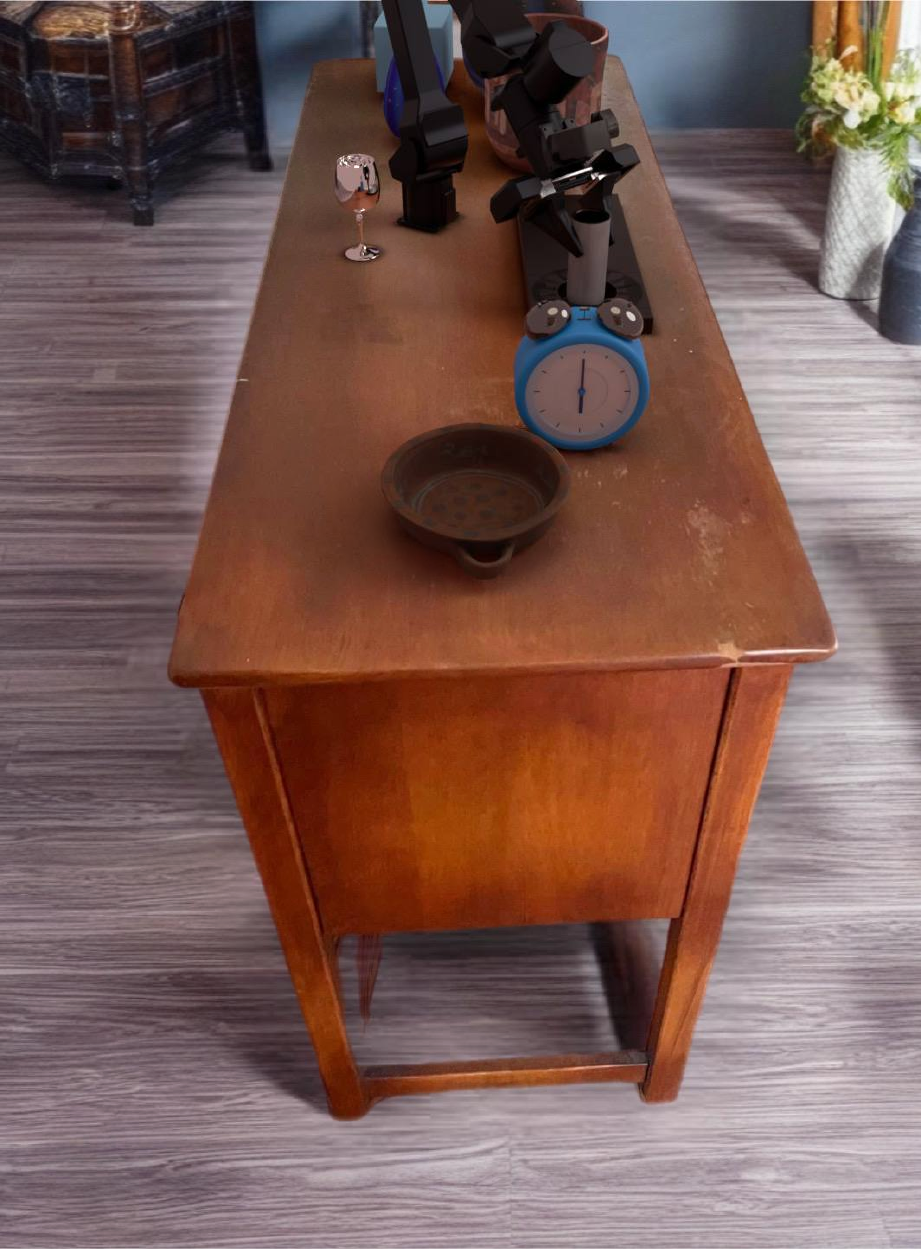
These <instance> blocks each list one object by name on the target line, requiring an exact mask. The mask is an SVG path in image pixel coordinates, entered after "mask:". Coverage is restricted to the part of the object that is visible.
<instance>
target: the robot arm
mask: <svg viewBox="0 0 921 1249" xmlns="http://www.w3.org/2000/svg"><path fill="white" fill-rule="evenodd" d="M380 2H381V7H382V11H384V16H385V20H386V24H387V28H388V33H389V37H390V41H391V45H392V50H393V54H394V58H395V62H396V67H397V71H398V75H399V79H400V83H401V88H402V92H403V96H404V102H405V103H404V107H403V111H402V115H401V119H400V123H399V127H398V128H399V135H400V139H399V143H400V145H399V146H398V147H397V149H396V150H395V151H394V153H393V154H392V155H391V157H390V158H389V159H388V162H387V163H388V167H389V173H390V176H391V178H392V179H393V180H395V181H398V182H399V183H401V198H402V199H401V200H402V215H400V216H398V217H397V219H396V224H399V225H403V226H408V227H411V228H414V229H418V230H423V231H427V232H431V233H437V232H439V231H441V230H442V229H444V228H445V227H447V226H448V225H449V224H451V223H452V222H454V221H455V220H456V219H458V218H460V215H461V214H460V211H457V189H456V188H455V187H454V175H455V174H460V173H462V172H463V169H464V166H465V161H466V158H467V153H468V151H469V137H470V133H469V131H468V129H467V125H466V122H465V114H464V109H463V107H462V105H461V103H459V102H457V103H453V102H452V101H450V99H449V98H448V96H445V95H444V93H443V92H442V88H441V84H440V79H439V75H438V70H437V66H436V62H435V57H434V53H433V48H432V44H431V39H430V35H429V30H428V26H427V21H426V17H425V12H424V8H423V3H422V0H380ZM447 2H448V3H449V4H448V5H451V7H452V10H453V12H454V13H455V15H456V18H457V20H458V22H459V24H460V37H459V39H460V41H459V42H460V46H461V48H462V47H463V50H464V52H465V54H466V56H467V58H468V60H469V63H470V65H471V67H472V69H473V70H474V72H475V73H476V74H477V75H478V76H479V77H480V78H485V79H493V78H496V77H500V76H504V75H508V74H511V73H515V72H519V71H522V73H517V74H515V75H513V76H511V77H510V78H509V79H508V81H507V82H506V83H505V84H501V85H497V86H495V87H494V94H493V98H492V100H491V104H490V110H491V111H492V112H495V111H499V110H504V112H505V114H506V116H507V119H508V121H509V123H510V125H511V127H512V129H513V132H514V134H515V136H516V138H517V140H518V143H519V145H520V146H519V147H518V148H517V149H516V151H515V153H516V155H517V157H518V159H521V158H524V157H525V158H526V160H527V162H528V164H529V166H530V168H531V171H532V173H525V174H523V175H520V176H516V177H513V178H510V179H508V180H507V181H505V182H504V184H503V185H502V186H501V187H500V188H499V189H498V190H497V191H496V192H495V193H494V194H493V195H492V196H491V197H490V200H489V211H490V214H491V215H492V218H493V220H494V222H495V224H497V225H499V224H503V223H505V222H508V221H511V220H514V219H517V215H518V212H519V206H520V205H524V207H525V210H526V212H527V213H526V214H525V215H524V216H523V217H522V221H523V222H524V223H525V222H530V223H532V224H533V225H535V226H536V227H538V228H539V229H541V230H542V231H543V232H545V233H546V234H548V235H549V236H550V237H552V238H553V239H554V240H556V241H557V242H558V243H559V244H560V245H562V246H563V247H564V248H565V249H566V250H568V251H569V252H570V253H571V254H573V255H574V256H575V257H576V258H580V257H581V256H582V255H583V254H584V252H583V249H582V246H581V243H580V240H579V238H578V236H577V233H576V231H575V229H574V227H573V225H572V222H571V220H570V218H569V216H568V213H567V211H566V208H565V195H566V191H569V190H571V189H574V188H577V187H579V188H580V191H581V194H583V196H582V197H581V198H580V199H579V200H578V203H579V204H580V206H581V207H582V208H599V209H602V210H605V211H607V212H608V213H609V214H610V216H611V220H610V233H609V245H608V247H610V246H612V245H613V244H614V243H615V233H614V223H613V213H612V194H613V191H614V188H615V185H616V184H618V183H619V182H620V181H621V180H623V178H624V177H626V176H627V175H628V174H629V173H630V172H631V171H633V170H634V169H635V168H636V167H637V166H638V165H639V164H640V163H642V161H641V159H640V157H639V155H638V153H637V150H636V148H635V147H634V146H633V145H631V144H629V143H627V142H624V143H621V144H618V145H615V146H613V143H612V139H616V138H619V135H620V133H621V132H620V127H619V121H618V119H617V117H616V115H615V114H614V112H613V110H612V108H606V109H603V110H601V111H599V112H595V113H592V114H591V118H590V123H589V124H586V125H582V126H579V127H578V126H577V125H576V122H575V120H574V119H573V118H571V116H570V117H566V118H563V116H562V114H561V112H560V110H559V108H558V106H557V104H559V103H562V102H563V101H565V100H566V98H567V97H568V96H569V95H570V94H571V93H572V92H573V91H574V90H575V89H576V88H577V87H578V86H579V84H580V83H581V82H582V81H583V80H584V79H585V78H586V77H587V76H588V75H589V74H590V73H591V71H592V70H593V68H594V66H595V60H596V57H595V52H594V49H593V46H592V44H591V42H590V41H587V39H586V38H585V37H584V36H583V35H582V34H581V33H579V32H578V31H576V30H574V29H571V28H567V25H566V23H565V21H564V19H558V20H554V21H550V22H548V23H547V25H546V26H545V27H544V29H543V31H542V33H541V32H539V31H538V30H536V29H534V28H533V26H532V24H531V23H530V21H529V20H528V19H527V18H526V17H525V15H524V14H523V13H522V12H521V11H520V9H519V8H518V7H517V6H516V5H515V4H514V3H512V2H510V1H509V0H447ZM599 151H601V152H600V153H599V154H598V155H597V156H596V157H595V153H596V152H599ZM594 157H595V158H594ZM592 158H594V159H593V160H592V161H591V162H590V163H589V164H587V165H586V164H585V163H586V162H588V161H590V160H591V159H592Z"/></svg>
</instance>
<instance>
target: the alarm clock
mask: <svg viewBox="0 0 921 1249" xmlns="http://www.w3.org/2000/svg"><path fill="white" fill-rule="evenodd" d="M563 300H564V299H563ZM563 300H560V299H555V298H550V299H545V300H542V301H540V302H538V303H537V304H535V305H534V306H533V307H532V308H531V309H530V310H529V311H528V310H527V311H528V312H527V313H526V315H525V317H524V321H523V331H524V333H525V335H524V336H523V337H522V339H521V340H520V342H519V344H518V346H517V349H516V352H515V355H514V361H513V387H514V389H513V390H514V391H513V392H514V403H515V408H516V411H517V414H518V416H519V418H520V420H521V422H522V423H523V424H524V426H525V428H526V429H528V432H529V433H532V434H534V435H536V436H538V437H540V438H542V439H543V440H545V441H546V442H547V443H549V444H550V445H552V446H553V447H554V448H559V449H564V450H570V451H588V450H594V449H598V448H602V447H605V446H607V445H608V447H609V448H610V449H611V450H613V449H614V445H613V443H614V442H616V441H618V440H620V439H621V438H623V437H624V436H625V435H626V434H628V433H629V432H630V431H631V430H632V429H633V428H634V427H635V426H636V425H637V424H638V422H639V421H640V419H641V418H642V416H643V415H644V412H645V411H646V408H647V405H648V402H649V398H650V391H651V390H650V389H651V384H650V378H649V372H648V366H647V362H646V356H645V351H644V347H643V345H642V341H641V340H640V336H641V333H642V331H643V318H642V315H641V313H640V312H639V310H638V309H637V308H636V307H635V306H634V305H633V304H632V302H631V301H630V302H629V301H627V300H624V299H621V298H607V299H604V300H603V302H601V303H600V304H599V306H598V307H597V308H595V307H571V308H570V306H569V305H568V304H567V303H566V302H565V301H566V300H565V301H563Z"/></svg>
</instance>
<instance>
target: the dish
mask: <svg viewBox="0 0 921 1249" xmlns="http://www.w3.org/2000/svg"><path fill="white" fill-rule="evenodd" d="M379 477H380V478H379V480H380V483H379V484H380V489H381V492H382V493H383V496H384V498H385V500H386V501H387V503H388V504H389V505H390V507H391V508H392V509H393V510H394V512H395V514H396V516H397V518H398V520H399V522H400V523H401V525H402V527H403V528H404V529H405V530H406V532H407V533H408V534H409V535H410V536H411V537H413V538H414V539H415V540H416V541H418V542H420V543H421V544H422V545H424V546H426V547H428V548H430V549H432V550H435V551H437V552H439V553H443V554H444V555H445V554H446V555H449V556H451V557H455V558H456V560H457V562H458V564H459V566H460V568H461V569H462V570H463V571H464V572H465V573H466V574H467V575H469V576H470V577H472V578H475V579H477V580H478V579H479V580H490V579H491V580H492V579H495V578H497V577H500V576H501V575H503V574H504V572H505V571H506V570H507V569H508V567H509V565H510V561H511V559H512V557H513V554H515V553H518V552H521V551H524V550H526V549H528V548H529V547H531V546H533V545H534V544H536V543H537V542H538V541H540V539H542V538H543V537H544V536H545V535H546V534H547V532H548V531H549V529H551V527H552V525H553V523H554V522H555V519H556V517H557V515H558V512H559V510H560V509H561V508H562V506H563V505H564V504H565V503H566V501H567V499H568V497H569V495H570V492H571V488H572V474H571V470H570V466H569V464H568V462H567V461H566V459H565V458H564V456H563V455H562V454H561V453H560V452H559V450H558V449H557V448H556V447H555V446H552V445H550V444H549V443H547V442H546V441H545V440H543V439H542V438H540V437H538V436H536V435H534V434H533V433H532V432H530V431H527V430H525V429H521V428H516V427H513V426H512V427H511V426H506V425H502V424H492V423H486V422H485V423H484V422H463V423H456V424H451V425H446V426H442V427H441V426H440V427H437V428H433V429H431V430H428V431H426V432H423V433H421V434H418V435H416V436H414V437H411V438H410V439H408V440H407V441H405V442H404V443H402V444H401V445H399V447H397V448H396V449H395V450H394V451H393V452H392V453H391V455H390V456H389V457H388V458H387V459H386V461H385V462H384V465H383V468H382V469H381V472H380V476H379ZM476 559H477V560H476ZM489 559H497V560H494V561H490V562H483V561H478V560H489Z"/></svg>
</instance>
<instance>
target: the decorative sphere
mask: <svg viewBox="0 0 921 1249" xmlns="http://www.w3.org/2000/svg"><path fill="white" fill-rule="evenodd" d="M509 1H510V2H512V3H514V4H515V5H516V6H517V7H518V8H519V9H520V11H521V12H522V13H523V14H532V13H555V14H566V15H574V16H579V17H583V18H586V17H585V15H584V11H583V9H582V7H581V5H580V3H579V1H578V0H509ZM461 55H462V56H461V57H462V61H463V64H464V67H465V70H466V72H467V75H468V77H469V79H470V81H471V82H472V83H473V85H474V86H475V88H476V89H477V91H479V93H480V94H481V95H482V96H483V97H484V98H485V78H480V77H479V76H478V75H477V74H476V73H475V72H474V70H473V69H472V67H471V65H470V63H469V60H468V58H467V56H466V54H465V52H464V50H463V47H462V46H461Z"/></svg>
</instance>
